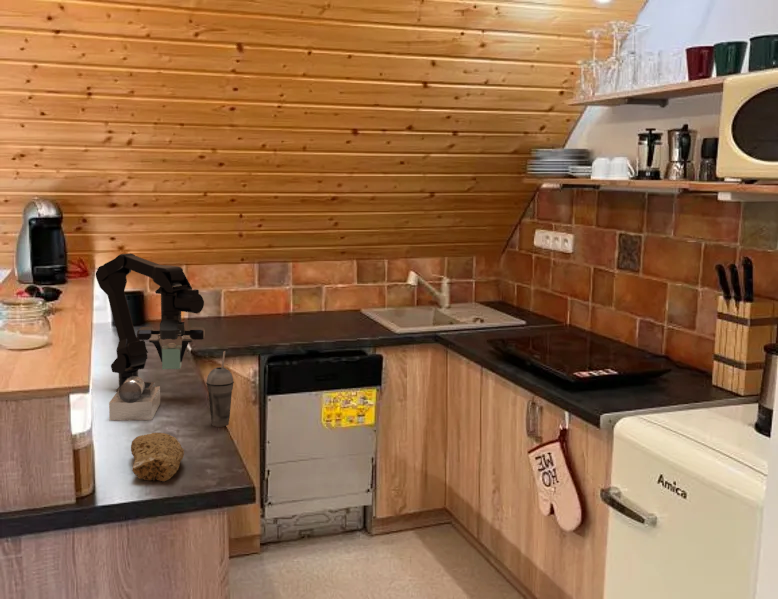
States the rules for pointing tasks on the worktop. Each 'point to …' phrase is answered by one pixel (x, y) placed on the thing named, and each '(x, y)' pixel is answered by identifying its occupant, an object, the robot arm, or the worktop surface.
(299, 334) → the worktop surface
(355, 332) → the worktop surface
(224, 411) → the beverage cup
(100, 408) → the worktop surface
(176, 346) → the green block with knob
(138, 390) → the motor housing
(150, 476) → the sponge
